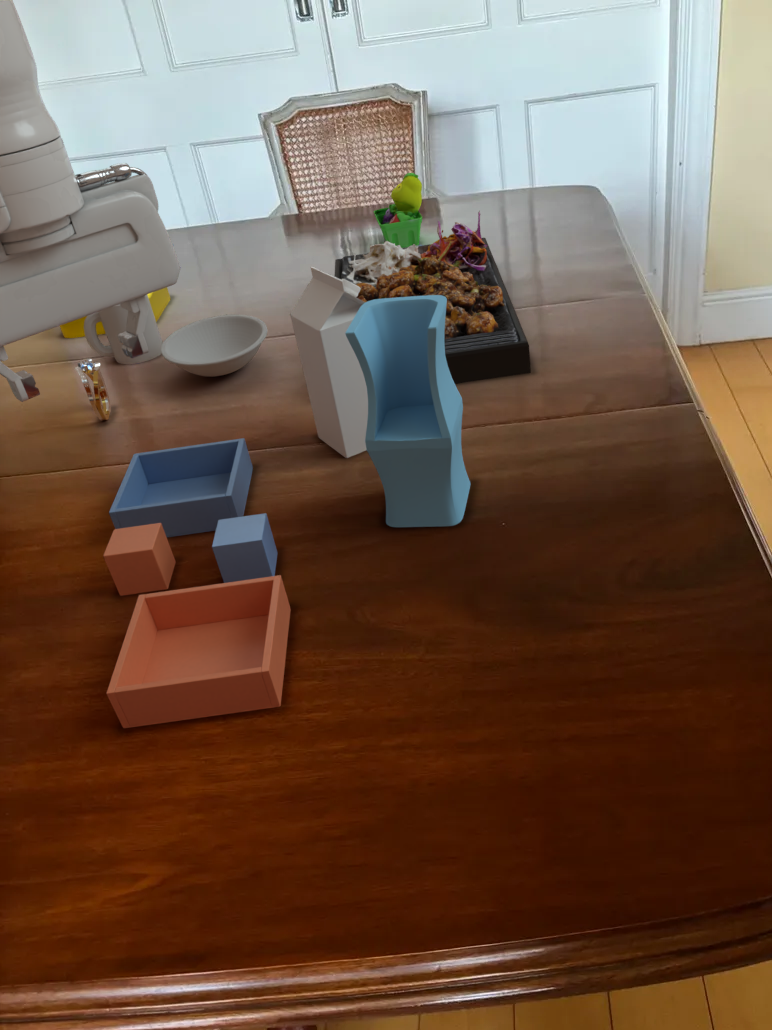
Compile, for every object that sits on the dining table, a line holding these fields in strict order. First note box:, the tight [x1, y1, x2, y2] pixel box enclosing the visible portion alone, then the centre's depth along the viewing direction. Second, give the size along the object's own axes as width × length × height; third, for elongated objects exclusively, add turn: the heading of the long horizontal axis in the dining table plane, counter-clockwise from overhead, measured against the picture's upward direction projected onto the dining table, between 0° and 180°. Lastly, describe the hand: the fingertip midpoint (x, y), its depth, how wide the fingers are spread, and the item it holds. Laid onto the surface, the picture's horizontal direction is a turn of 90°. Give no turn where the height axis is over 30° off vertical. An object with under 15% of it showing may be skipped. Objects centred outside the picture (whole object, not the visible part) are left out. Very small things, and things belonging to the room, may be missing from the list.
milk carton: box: [289, 266, 368, 459], centre depth 97 cm, size 7×7×19 cm
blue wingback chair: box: [345, 295, 471, 528], centre depth 83 cm, size 8×8×20 cm
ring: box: [74, 357, 112, 422], centre depth 113 cm, size 7×3×8 cm, turn 9°
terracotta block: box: [102, 523, 177, 597], centre depth 83 cm, size 4×4×5 cm
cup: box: [84, 294, 164, 365], centre depth 129 cm, size 7×10×9 cm
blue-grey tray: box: [108, 437, 254, 538], centre depth 94 cm, size 12×12×4 cm
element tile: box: [59, 287, 171, 339], centre depth 145 cm, size 15×15×5 cm
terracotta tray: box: [106, 574, 292, 729], centre depth 72 cm, size 12×12×4 cm
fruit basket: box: [373, 172, 423, 248], centre depth 159 cm, size 11×9×11 cm
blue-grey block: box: [211, 512, 278, 583], centre depth 82 cm, size 4×4×5 cm
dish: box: [161, 313, 268, 377], centre depth 122 cm, size 18×14×5 cm
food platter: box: [333, 210, 532, 385], centre depth 126 cm, size 45×25×10 cm, turn 5°
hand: (84, 375), depth 72 cm, fingers open, 8 cm apart
